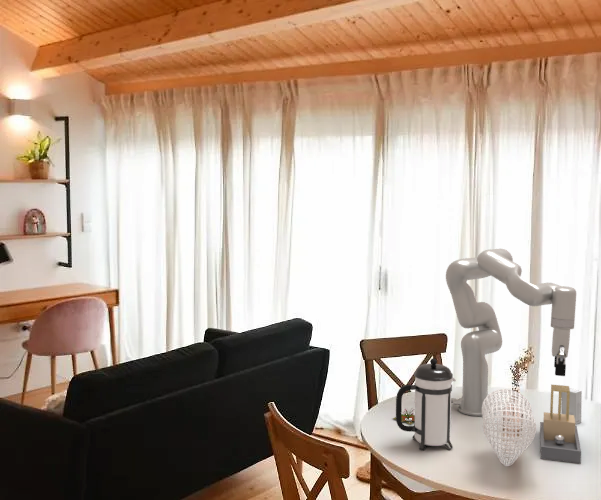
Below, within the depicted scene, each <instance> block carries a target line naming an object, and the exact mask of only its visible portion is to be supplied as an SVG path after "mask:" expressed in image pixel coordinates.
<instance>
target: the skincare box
mask: <svg viewBox="0 0 601 500" xmlns="http://www.w3.org/2000/svg"><path fill="white" fill-rule="evenodd" d="M569 389H570V400H569V415H574V418H575V425H579V424H580V423H582V397H583V396H582V390H580V389H574V388H570V387H569ZM566 403H567V392H562V394H561V414H566Z"/></svg>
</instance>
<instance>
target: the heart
mask: <svg viewBox="0 0 601 500" xmlns="http://www.w3.org/2000/svg"><path fill="white" fill-rule="evenodd" d="M485 401H486V402H485ZM485 404H486V405H485ZM488 407H489V408H488ZM485 409H486V410H485ZM489 412H490V413H489ZM495 413H496V414H495ZM499 413H500V414H499ZM503 413H505V414H503ZM518 413H519V414H518ZM518 415H519V416H518ZM521 416H522V417H521ZM481 417H482V428H483V432H484V433H483V434H484V435H485V437H486V440H487V442H488V443H489V445H490V446H491V448H492V450H493V452H494V454H495V455H496V457H497V459H498V460H499V461H500V463H501V464H502V465H503V466H504V467H510V466H512V465H513V464H514V463H515V462H516V461H517V460H518V458H519V457H520V456H521V455H522V454H523V452H524V451H526V449H527V448H528V447H529V446H530V445H531V444H532V443H533V441H534V439H535V436H536V433H537V423H536V419H535V417H534V415H533V411H532V405H531V404H530V403H529V400H528V398H526V397H525V396H524V395H522V394H521V393H520V392H518V391H516V390H512V389H507V388H505V389H504V388H503V389H496V390H494V391H492V392H490V393H489V394H488V396H487V397H486V398H485V399H484V401H483V404H482V416H481ZM503 418H504V419H505V420H504V419H503ZM499 419H500V420H499ZM518 420H519V422H518ZM499 425H500V426H499ZM499 429H500V430H499ZM518 430H519V431H518ZM503 434H504V436H503ZM518 435H519V436H518ZM503 440H504V441H503Z"/></svg>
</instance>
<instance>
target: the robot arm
mask: <svg viewBox="0 0 601 500" xmlns="http://www.w3.org/2000/svg"><path fill="white" fill-rule="evenodd" d="M522 272H523V271H522V266H520V265H519V264H517V262H514V260H513V255H512V254H511V252H510V251H508V250H507V249H505V248H493V249H491V248H490V249H485V250H483V251H481V252H480V253H479V254H478V256H477V257H465V258H459V259H456V260H454V261H452V262H451V263H450V264H449V265H448V266H447V269H446V272H445V282H446V285H447V287H448V290H449V293H450V295H451V298H452V302H453V303H452V304H453V306H454V310H455V313H456V317H457V320H458V323H459V325H460V327H462V328H464V329H474V328H477V330H475V331H474V330H473V331H470V332H467V333H466V334H465V335H464V336H463V337H461V341H460V349H461V355H462V392H461V393H462V395H461V397H459V398H454V397H451V404H453V405H455V406H457V411H458V412H460V413H461V414H464V415H465V416H466V415H467V416H472V417H483V416H482V404H483V401H484V399H485V398H486V397H487V396H488V395H489V394H488V393H489V391H488V390H489V387H488V386H489V385H488V384H489V365H488V364H489V363H488V361H487V359H486V355H489V354H493V353H496V352H498V351H500V350H501V348H502V347H503V336H502V333H501V329H500V326H499V321H498V318H497V314H496V313H495V310H494V308H493V307H492V306H491V305H490V304H489V303H488V302H485V301H478V302H477V299H476V297H475V293H474V290H473V289H472V287H471V286H470V285H469V284H468V282H467V281H470V280H471V281H472V280H477V279H478V280H479V279H485V278H488V277H490V276H491V277H492V278H494V279H496V280H498V281H499V282H501V283H502V284H504V285H505V286H506V288H507V290H508V292H509V293H510V294H511V296H513V297H514V298H515V299H516V300H518V301H520V302H522V303H524V304H525V305H528V306H530V307H540V306H546V305H548V306H549V305H551V317H550V327H551V328H552V329H553V331H552V340H551V342H552V343H551V356H552V357H554V362H553V363H554V364H553V365H554V366H553V367H554V369H555V370H554V375H555V376H558V377H559V376H560V377H566V369H567V367H566V366H567V364H566V358H568V354H569V349H570V340H571V330H574V329H575V320H576V306H577V304H576V303H577V291H576V289H575V288H573V287H571V286H562V285H559V284H557V283H553V282H543V283H536V284H533V283H531V282H529V281H527V280H525V279H524V278H523V277H521V276H522ZM485 402H486V401H485ZM485 405H486V404H485ZM488 408H489V407H488ZM485 410H486V409H485ZM489 413H490V412H489Z"/></svg>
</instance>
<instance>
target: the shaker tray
mask: <svg viewBox="0 0 601 500" xmlns="http://www.w3.org/2000/svg"><path fill="white" fill-rule="evenodd" d="M542 419H543V420H542V421H541V422H540V423H539V424H540V425H539V426H540V427H539V439H540V440H539V442H540V443H539V445H540V446H539V447H540V448H539V450H540V451H539V452H540V459H542V460H548V461H549V460H550V461H557V462H564V463H572V464H579V465H580V464H581V463H582V462H581V461H582V459H581V458H582V449H581V444H580V442H581V441H580V438H579V432H578V428H577V427H578V426H577V425H576V424H575V418H574V415H569V421H567V419H566V414H561V420H559V415H558V413H556V412H553V417H552V419H551V417H550V412H545V411H543V418H542ZM557 434H561V435H563V436H564V438H565V442H564V443H563V444H561V445H559V444H556V443H555V441H554V437H555V436H556V435H557Z"/></svg>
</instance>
